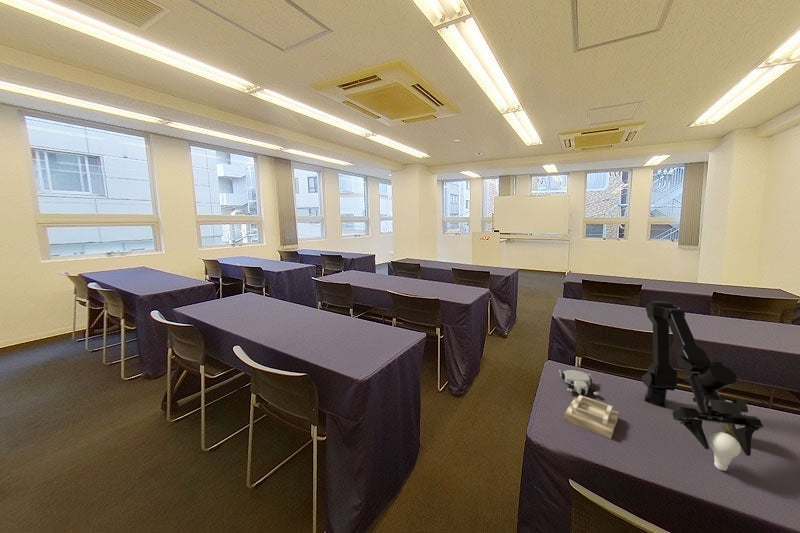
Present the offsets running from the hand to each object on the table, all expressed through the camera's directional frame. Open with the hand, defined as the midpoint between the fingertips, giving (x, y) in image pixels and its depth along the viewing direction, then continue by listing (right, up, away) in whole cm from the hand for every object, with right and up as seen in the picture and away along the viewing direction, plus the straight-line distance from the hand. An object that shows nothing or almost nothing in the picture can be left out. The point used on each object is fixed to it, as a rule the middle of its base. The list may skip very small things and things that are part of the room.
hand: (727, 452), depth 84 cm
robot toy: (-16, 0, +45) cm, 47 cm away
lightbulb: (0, -6, +2) cm, 7 cm away
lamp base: (-23, -3, +24) cm, 33 cm away
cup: (+18, -4, +15) cm, 23 cm away
